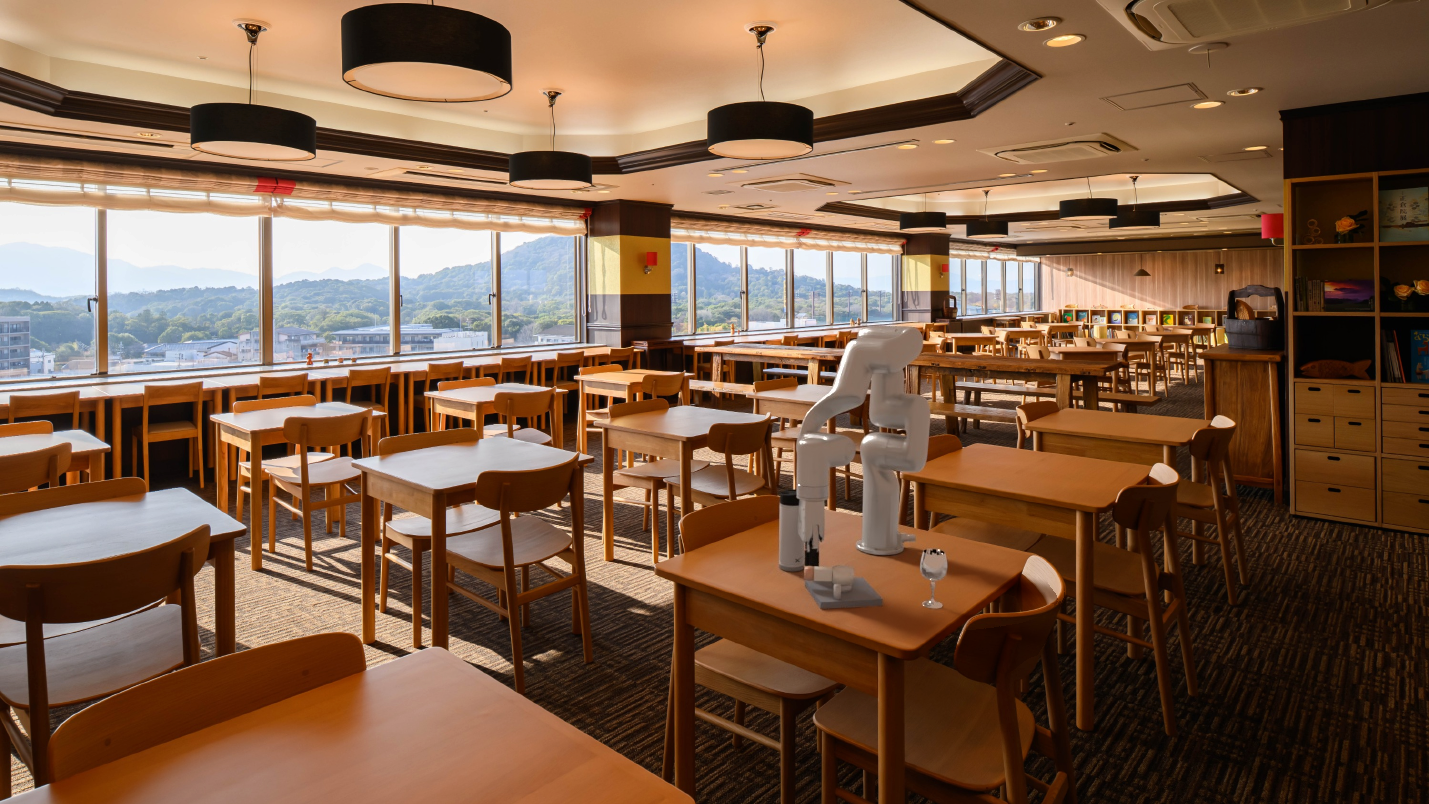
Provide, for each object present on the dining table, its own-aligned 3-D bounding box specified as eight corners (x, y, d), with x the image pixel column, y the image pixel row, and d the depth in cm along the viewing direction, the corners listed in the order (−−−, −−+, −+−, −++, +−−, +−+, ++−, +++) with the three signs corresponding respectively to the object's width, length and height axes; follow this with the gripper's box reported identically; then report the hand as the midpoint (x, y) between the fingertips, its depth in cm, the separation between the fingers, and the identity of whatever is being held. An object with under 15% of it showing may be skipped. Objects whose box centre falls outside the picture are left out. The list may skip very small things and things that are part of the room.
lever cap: (853, 578, 181) (853, 565, 180) (854, 585, 176) (854, 572, 175) (804, 576, 182) (804, 563, 181) (804, 583, 177) (804, 571, 177)
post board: (862, 583, 187) (862, 564, 186) (882, 605, 173) (883, 585, 172) (804, 585, 185) (805, 567, 184) (820, 608, 171) (820, 588, 171)
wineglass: (915, 600, 176) (916, 548, 175) (940, 599, 176) (942, 547, 175) (924, 610, 170) (925, 556, 169) (949, 609, 171) (952, 555, 169)
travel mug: (804, 572, 194) (805, 493, 191) (777, 570, 195) (778, 492, 193) (806, 564, 200) (807, 487, 198) (780, 562, 201) (781, 486, 199)
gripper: (792, 484, 191) (791, 557, 193) (801, 499, 176) (800, 578, 178) (822, 483, 191) (821, 556, 193) (834, 499, 176) (833, 578, 179)
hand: (811, 567), depth 186 cm, fingers closed
